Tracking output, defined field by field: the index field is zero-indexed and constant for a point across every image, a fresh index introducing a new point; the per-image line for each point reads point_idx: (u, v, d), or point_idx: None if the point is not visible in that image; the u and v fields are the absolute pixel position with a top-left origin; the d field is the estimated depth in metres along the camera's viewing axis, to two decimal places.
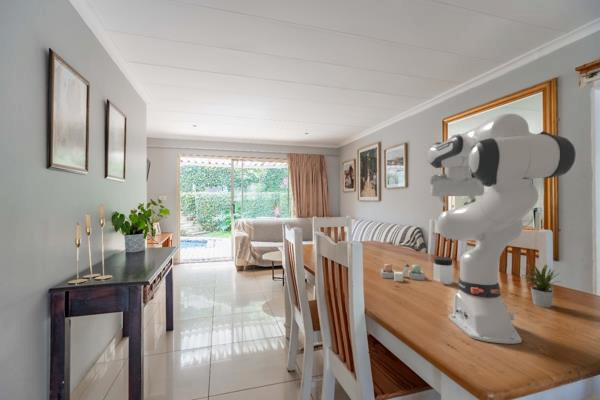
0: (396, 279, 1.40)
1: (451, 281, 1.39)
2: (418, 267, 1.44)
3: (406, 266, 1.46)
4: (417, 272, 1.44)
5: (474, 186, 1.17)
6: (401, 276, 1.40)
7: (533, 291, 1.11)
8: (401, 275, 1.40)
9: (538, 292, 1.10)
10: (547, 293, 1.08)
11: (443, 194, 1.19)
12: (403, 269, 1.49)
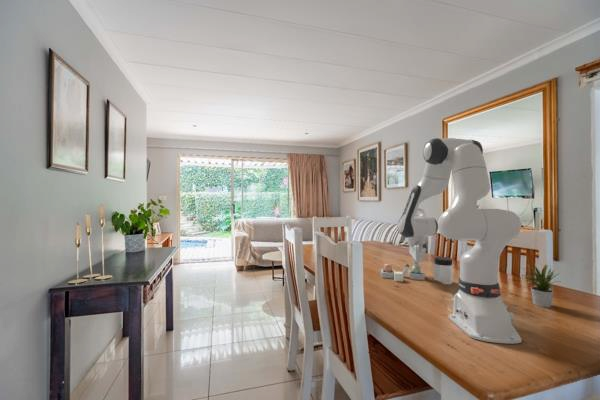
0: (396, 279, 1.40)
1: (451, 281, 1.39)
2: (418, 268, 1.44)
3: (406, 266, 1.46)
4: (417, 273, 1.44)
5: None
6: (401, 276, 1.40)
7: (533, 291, 1.11)
8: (401, 275, 1.40)
9: (538, 292, 1.10)
10: (547, 293, 1.08)
11: None
12: (403, 269, 1.49)
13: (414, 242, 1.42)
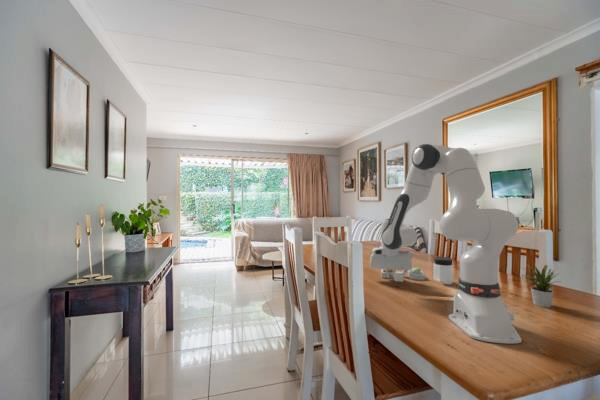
0: (396, 279, 1.40)
1: (451, 281, 1.39)
2: (418, 270, 1.44)
3: None
4: None
5: None
6: (401, 276, 1.40)
7: (533, 291, 1.11)
8: (401, 275, 1.40)
9: (538, 292, 1.10)
10: (547, 293, 1.08)
11: None
12: None
13: (399, 252, 1.40)
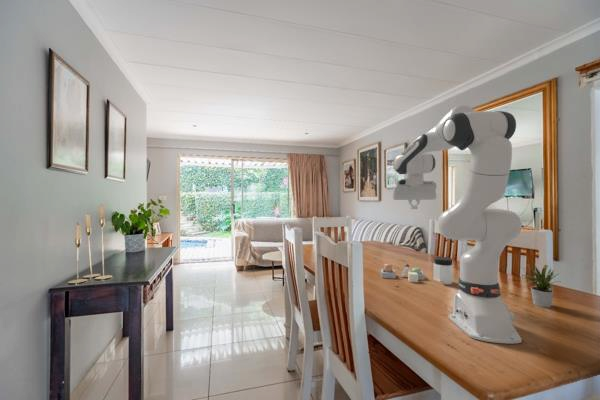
0: (411, 280, 1.39)
1: (451, 281, 1.39)
2: (418, 270, 1.44)
3: (406, 266, 1.46)
4: None
5: None
6: (416, 277, 1.38)
7: (533, 291, 1.11)
8: (416, 276, 1.38)
9: (538, 292, 1.10)
10: (547, 293, 1.08)
11: None
12: (403, 269, 1.49)
13: (423, 182, 1.39)
